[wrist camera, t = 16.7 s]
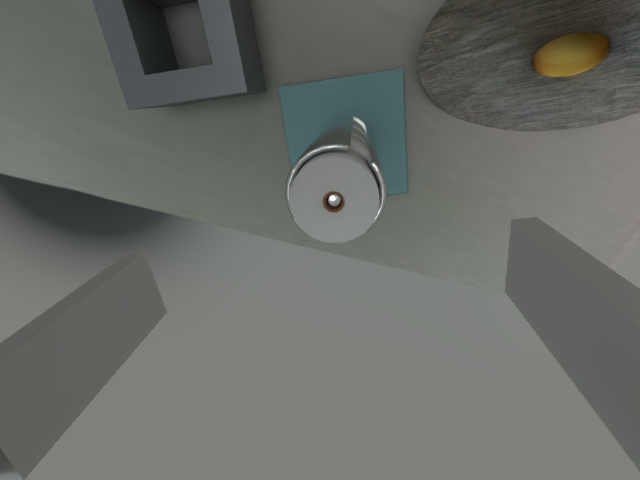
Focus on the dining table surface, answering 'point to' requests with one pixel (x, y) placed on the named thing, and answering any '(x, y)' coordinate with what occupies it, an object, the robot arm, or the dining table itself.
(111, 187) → the dining table surface
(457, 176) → the dining table surface
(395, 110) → the teal mat
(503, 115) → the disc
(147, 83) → the grey hollow square block
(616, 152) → the dining table surface
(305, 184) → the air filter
